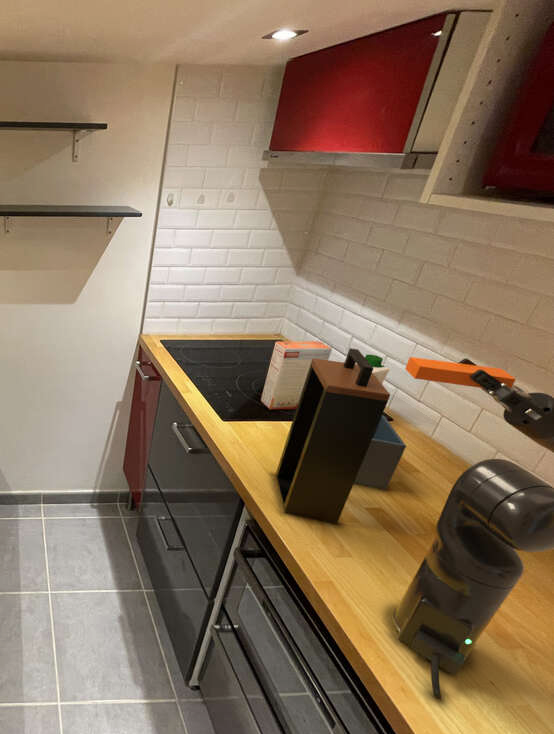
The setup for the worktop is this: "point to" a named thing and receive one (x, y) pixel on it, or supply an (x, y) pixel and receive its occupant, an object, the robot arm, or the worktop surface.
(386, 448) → the blue open bin
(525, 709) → the worktop surface
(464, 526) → the robot arm
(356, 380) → the box
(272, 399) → the cracker box
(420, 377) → the bar
